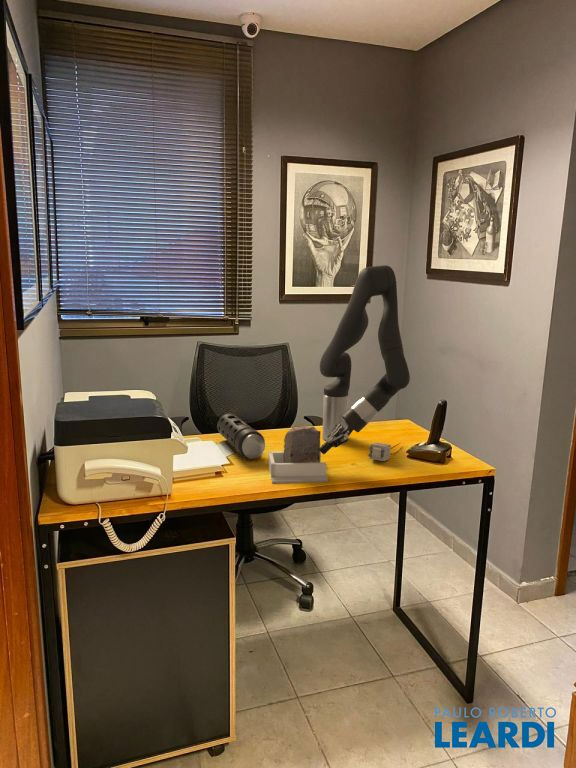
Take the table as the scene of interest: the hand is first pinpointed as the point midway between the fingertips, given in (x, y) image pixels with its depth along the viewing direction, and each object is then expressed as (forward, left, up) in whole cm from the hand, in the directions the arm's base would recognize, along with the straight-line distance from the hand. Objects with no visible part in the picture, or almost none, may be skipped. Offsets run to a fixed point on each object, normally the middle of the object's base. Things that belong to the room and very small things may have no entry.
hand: (321, 452), depth 183 cm
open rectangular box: (+2, -8, -6) cm, 10 cm away
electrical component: (-16, +26, -7) cm, 31 cm away
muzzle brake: (-22, -25, -7) cm, 34 cm away
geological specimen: (0, -6, -6) cm, 9 cm away
